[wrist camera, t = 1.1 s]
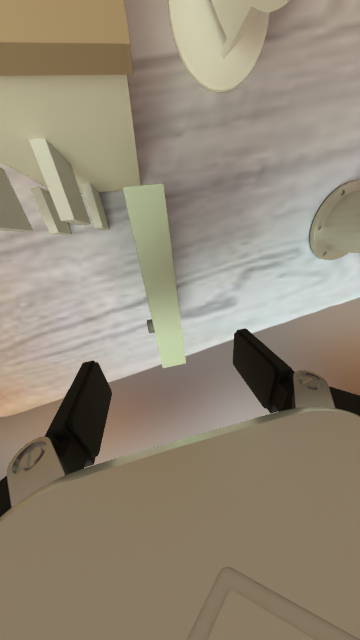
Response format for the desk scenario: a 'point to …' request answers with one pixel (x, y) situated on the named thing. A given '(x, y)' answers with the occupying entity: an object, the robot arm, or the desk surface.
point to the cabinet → (65, 108)
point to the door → (157, 268)
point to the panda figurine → (220, 38)
